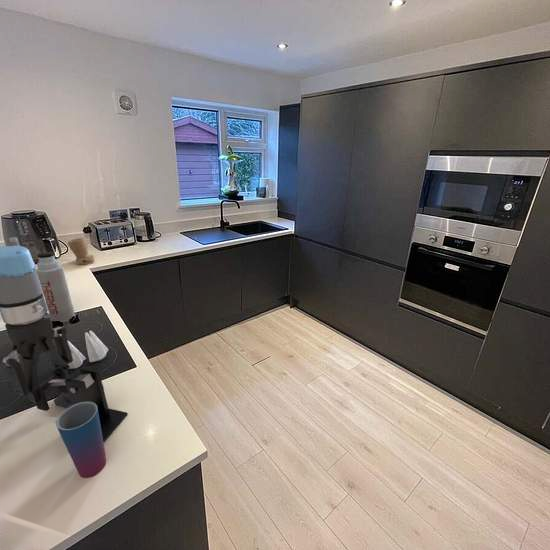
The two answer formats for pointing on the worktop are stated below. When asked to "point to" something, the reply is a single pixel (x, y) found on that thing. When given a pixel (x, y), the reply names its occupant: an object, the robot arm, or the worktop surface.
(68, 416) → the cup
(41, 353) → the robot arm
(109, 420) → the bracket
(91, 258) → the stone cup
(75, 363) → the shaker set
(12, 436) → the worktop surface
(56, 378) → the toaster lever
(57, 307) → the thermos bottle
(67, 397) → the button housing
